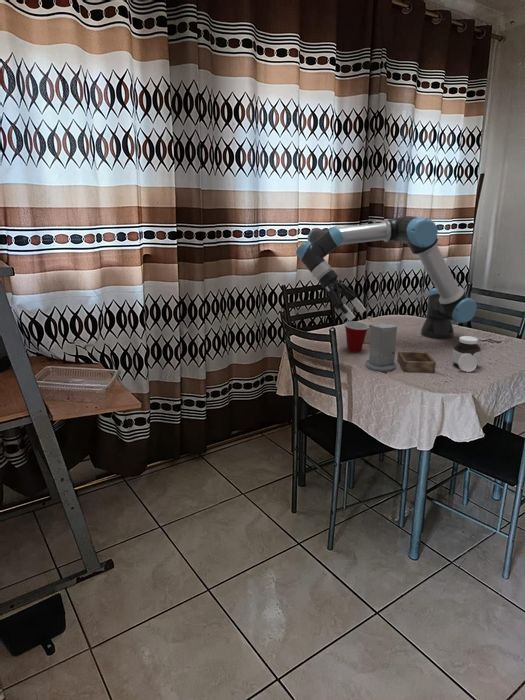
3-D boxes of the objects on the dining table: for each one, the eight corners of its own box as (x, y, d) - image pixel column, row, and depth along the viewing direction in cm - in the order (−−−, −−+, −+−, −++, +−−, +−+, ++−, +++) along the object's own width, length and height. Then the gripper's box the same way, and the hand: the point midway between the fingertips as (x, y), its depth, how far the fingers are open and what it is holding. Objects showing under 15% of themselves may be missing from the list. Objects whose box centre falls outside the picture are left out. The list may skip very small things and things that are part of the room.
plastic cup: (362, 355, 210) (364, 328, 206) (338, 351, 215) (340, 325, 212) (371, 349, 219) (373, 323, 215) (348, 345, 224) (350, 319, 220)
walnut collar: (426, 361, 203) (427, 352, 202) (434, 372, 191) (435, 362, 190) (397, 360, 204) (398, 351, 203) (403, 371, 192) (404, 361, 191)
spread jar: (468, 361, 203) (472, 334, 200) (488, 370, 193) (492, 342, 190) (444, 364, 200) (447, 337, 196) (463, 374, 190) (467, 345, 186)
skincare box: (378, 367, 193) (382, 328, 188) (367, 362, 199) (370, 324, 194) (395, 364, 196) (399, 326, 192) (383, 358, 202) (386, 321, 198)
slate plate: (392, 361, 203) (393, 358, 203) (398, 371, 192) (398, 368, 191) (363, 360, 204) (363, 358, 203) (367, 371, 192) (367, 368, 192)
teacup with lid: (377, 338, 234) (379, 315, 231) (377, 344, 226) (379, 319, 222) (351, 337, 236) (353, 313, 233) (351, 342, 228) (352, 318, 224)
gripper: (330, 276, 211) (361, 314, 209) (306, 285, 190) (340, 328, 188) (342, 264, 207) (374, 303, 205) (319, 273, 186) (354, 316, 184)
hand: (358, 315), depth 196 cm, fingers open, 13 cm apart
